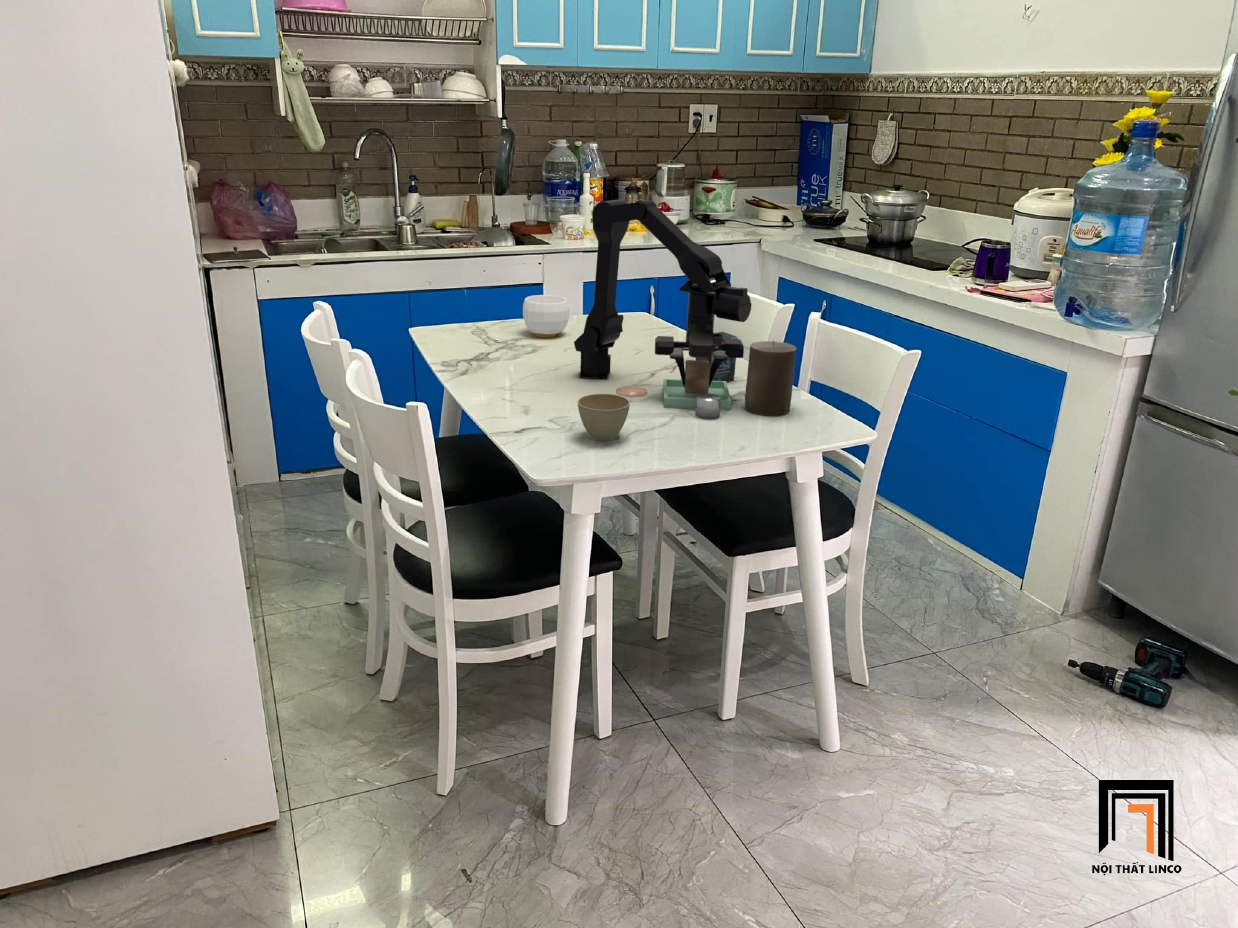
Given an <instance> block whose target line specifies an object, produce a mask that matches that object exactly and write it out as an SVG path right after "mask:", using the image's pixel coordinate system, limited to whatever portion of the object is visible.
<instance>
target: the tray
mask: <svg viewBox="0 0 1238 928" xmlns="http://www.w3.org/2000/svg"><path fill="white" fill-rule="evenodd" d="M662 386H663V387H662V390H663V393H662V395H663V408H665V409H688V410H689V409H691V410H692V409H693V410H696V401H697V396H698V395H700V394H690V393H685V390H684V385H683V383H682V379H675V378H674V379H673V378H671V379H670V378H663V384H662ZM708 394H714V395H718V396H720V397H721V407H720V411H731V407H732V399H731V396H730V391H729V388H728V383H727V381H712V382H711V385H710V386H709V390H708Z"/></svg>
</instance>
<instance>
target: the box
mask: <svg viewBox="0 0 1238 928" xmlns="http://www.w3.org/2000/svg"><path fill="white" fill-rule="evenodd" d="M713 333H714V334H722V336H723V339H722V343H723V342H724V339H739V338H738V336H736V335H733V334H731V333H728V332H725V331H719V332H713ZM711 358H712V357H710V358H705V357H695V360H700V361H709V364H710V363H711ZM727 358H728V360H727V361H723V362H722V363H721V364H720V365H719V367H718V369H717V370H716V373H715V375H714V377H713V380H712V381H726V382H730V381H734V380H735V374H736V364H737V361H736V360H737V358H729V357H728V356H727Z"/></svg>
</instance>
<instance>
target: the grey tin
mask: <svg viewBox="0 0 1238 928" xmlns="http://www.w3.org/2000/svg"><path fill="white" fill-rule="evenodd" d="M720 407H721V397H720V396H718V395H714V394H700V395H698V396H697V401H696V409H695V418H698V419H702V420H709V421H711V420H717V419H719V418H720V417H721V410H720Z"/></svg>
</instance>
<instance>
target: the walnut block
mask: <svg viewBox="0 0 1238 928" xmlns="http://www.w3.org/2000/svg"><path fill="white" fill-rule="evenodd" d="M684 368H685V386H684V390H685V393H690V394H708V390H709V376H710V364H709V361H700V360H696V359H695V360H694V359H691V360H690V359H685V363H684Z"/></svg>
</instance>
